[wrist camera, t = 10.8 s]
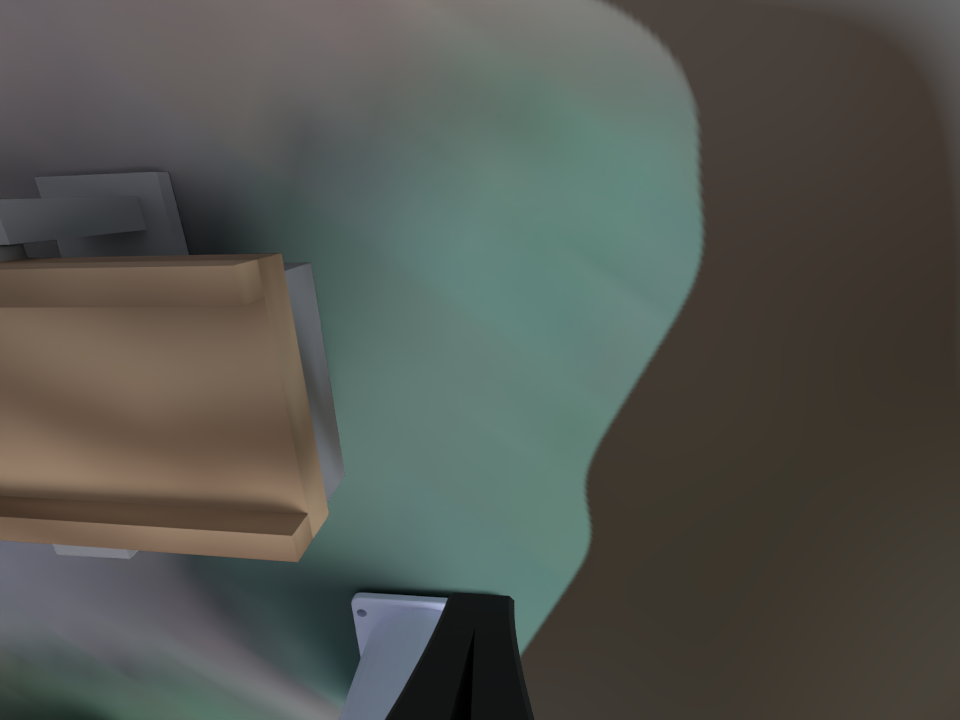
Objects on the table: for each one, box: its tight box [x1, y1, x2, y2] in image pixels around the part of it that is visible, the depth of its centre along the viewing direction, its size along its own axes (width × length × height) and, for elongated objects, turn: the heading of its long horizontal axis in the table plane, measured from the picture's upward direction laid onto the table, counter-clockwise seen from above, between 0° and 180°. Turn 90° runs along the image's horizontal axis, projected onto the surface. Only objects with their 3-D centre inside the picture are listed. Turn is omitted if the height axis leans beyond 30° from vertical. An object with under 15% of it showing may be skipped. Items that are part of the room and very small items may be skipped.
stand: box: [0, 172, 189, 559], centre depth 17 cm, size 14×5×6 cm, turn 2°
